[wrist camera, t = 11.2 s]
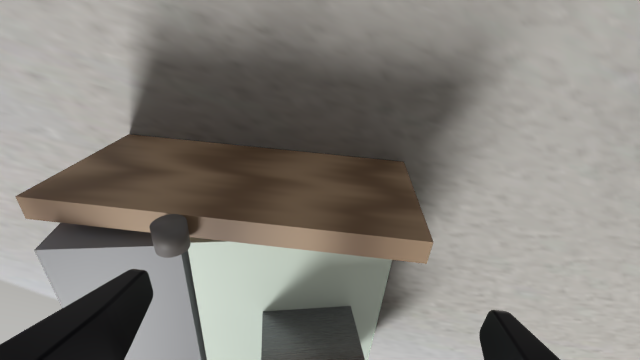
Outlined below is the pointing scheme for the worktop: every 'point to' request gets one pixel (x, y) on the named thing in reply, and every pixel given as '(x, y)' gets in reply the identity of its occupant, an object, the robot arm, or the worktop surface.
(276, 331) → the block
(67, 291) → the trapdoor
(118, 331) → the robot arm
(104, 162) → the frame
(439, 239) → the worktop surface
